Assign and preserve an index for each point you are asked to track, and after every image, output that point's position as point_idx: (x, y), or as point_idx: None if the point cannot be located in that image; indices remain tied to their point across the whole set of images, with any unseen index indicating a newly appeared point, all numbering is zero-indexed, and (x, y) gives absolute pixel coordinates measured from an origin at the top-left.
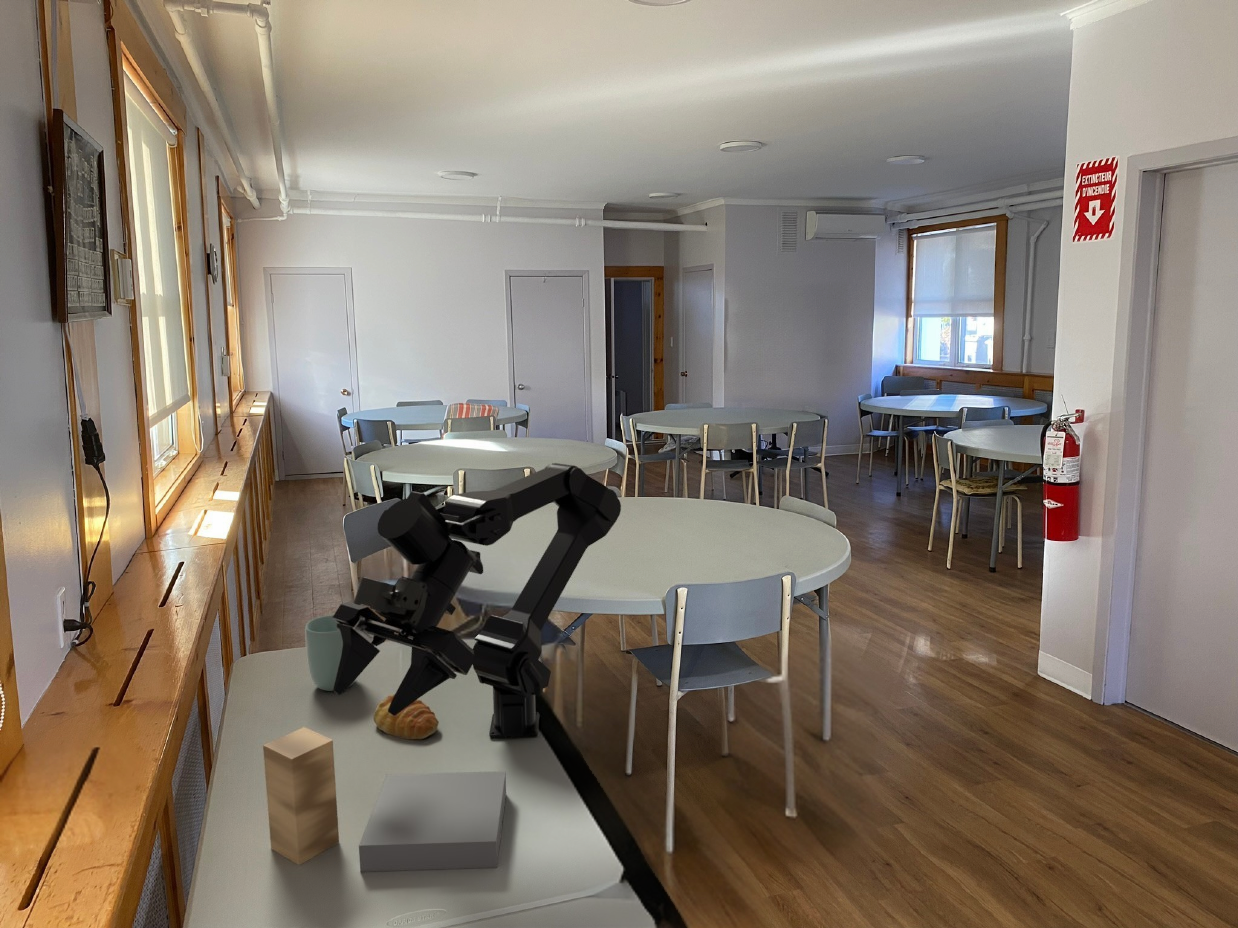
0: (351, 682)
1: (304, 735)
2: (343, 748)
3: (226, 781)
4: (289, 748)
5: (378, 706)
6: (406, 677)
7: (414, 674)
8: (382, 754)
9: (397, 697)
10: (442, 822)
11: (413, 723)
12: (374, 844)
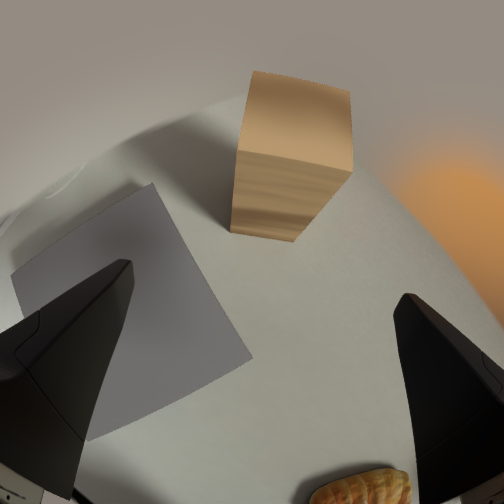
0: (402, 363)
1: (316, 141)
2: (400, 410)
3: (451, 267)
4: (293, 93)
5: (410, 485)
6: (44, 332)
7: (2, 338)
8: (342, 434)
9: (90, 281)
10: (79, 280)
11: (339, 496)
12: (134, 194)
